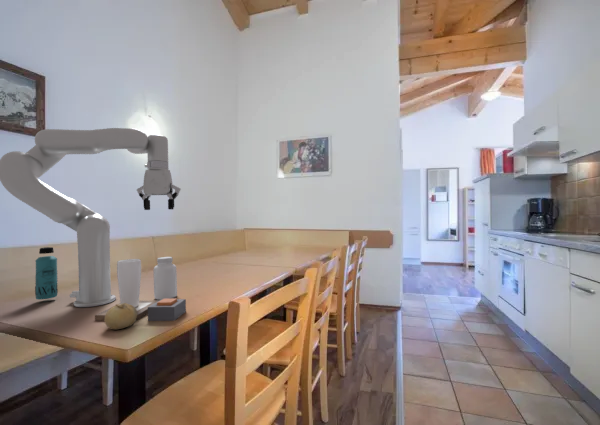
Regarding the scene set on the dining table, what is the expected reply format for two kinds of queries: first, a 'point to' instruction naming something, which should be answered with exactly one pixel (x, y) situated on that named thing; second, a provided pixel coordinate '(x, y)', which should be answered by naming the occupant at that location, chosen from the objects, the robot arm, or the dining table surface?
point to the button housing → (166, 311)
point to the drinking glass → (129, 281)
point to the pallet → (141, 308)
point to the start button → (167, 302)
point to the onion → (120, 316)
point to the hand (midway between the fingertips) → (159, 209)
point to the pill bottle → (165, 279)
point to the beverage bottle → (46, 275)
